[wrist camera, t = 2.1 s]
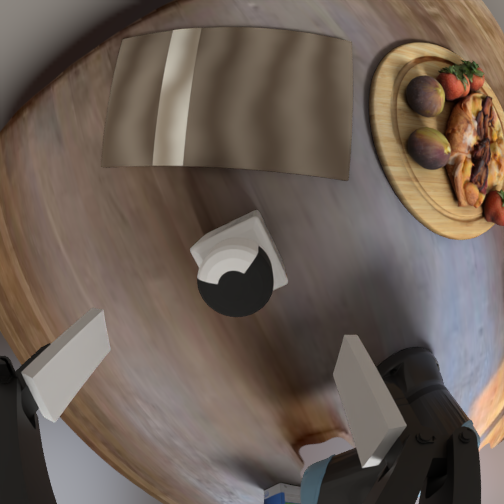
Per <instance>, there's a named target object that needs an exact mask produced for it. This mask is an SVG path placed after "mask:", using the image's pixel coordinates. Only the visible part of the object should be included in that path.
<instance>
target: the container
mask: <svg viewBox="0 0 504 504" xmlns="http://www.w3.org/2000/svg"><path fill="white" fill-rule="evenodd" d="M190 252H191V254H192V256H193V258H194V259H195V261H196V263H197V265H198V267H199V271H198V276H197V284H198V289H199V292H200V294H201V296H202V298H203V300H204V301H205V302H206V303H207V305H208V306H210V307H211V308H212V309H213V310H215V311H216V312H218V313H220V314H223V315H226V316H230V317H243V316H248V315H251V314H253V313H255V312H257V311H258V310H260V309H261V308H262V307H263V306H264V305H265V304H266V303H267V302H268V300H269V299H270V297H271V295H272V291H273V290H275V289H278V288H280V287H282V286H285V285H286V284H287V283H288V278H287V274H286V271H285V267H284V264H283V260H282V258H281V256H280V254H279V252H278V250H277V248H276V245H275V243H274V241H273V239H272V237H271V235H270V233H269V231H268V229H267V226H266V224H265V222H264V220H263V218H262V216H261V214H260V212H259V211H258V210H254V211H252V212H250V213H248V214H246V215H244V216H242V217H239V218H237V219H235V220H233V221H231V222H229V223H227V224H225V225H223V226H221V227H219V228H217V229H215V230H213V231H211V232H209V233H207V234H205V235H204V236H203V237H202V238H201V239H200V240H199V241H197V242H196V243H195V244H194V245H193V246H192V247H191V249H190Z"/></svg>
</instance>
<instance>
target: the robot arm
mask: <svg viewBox="0 0 504 504" xmlns="http://www.w3.org/2000/svg"><path fill="white" fill-rule="evenodd" d="M110 350H111V349H110V344H109V339H108V334H107V328H106V323H105V317H104V311H103V310H102V309H97V308H92V309H90V310H89V311H88V312H87V313H86V314H85V315H83V316H82V317H81V318H80V319H79V320H78V321H76V322H75V323H74V324H73V325H72V326H71V327H70V328H68V329H67V330H66V331H65V332H64V333H63V334H62V335H61V336H59V337H58V338H57V339H56V340H55V341H54V342H53V343H52V344H50V343H49V344H47V345H45V346H43V347H41V348H40V349H39V350H38V351H37V352H36V354H34V355H32V356H31V358H29V359H28V360H27V361H26V362H25V363H24V364H23V365H22V366H21V367H20V368H19V369H18V370H16V371H15V370H14V368H13V365H12V363H11V360H10V359H9V358H8V357H6V356H0V504H57V503H56V500H55V496H54V493H53V490H52V487H51V483H50V479H49V475H48V471H47V467H46V463H45V459H44V453H43V448H42V442H41V436H40V429H39V423H38V416H37V414H36V411H37V410H38V409H40V411H41V413H42V415H43V417H45V418H47V419H49V420H51V421H53V422H54V423H55V422H56V420H57V419H58V418H59V417H60V415H61V414H62V412H63V411H64V410H65V408H66V407H67V406H68V404H69V403H70V402H71V400H72V399H73V398H74V396H75V395H76V394H77V392H78V391H79V390H80V388H81V387H82V386H83V384H84V383H85V382H86V380H87V379H88V378H89V377H90V375H91V374H92V373H93V371H94V370H95V369H96V368H97V366H98V365H99V364H100V363H101V361H102V360H103V359H104V358H105V356H106V355H107V354H108V353H109V351H110ZM333 377H334V380H335V383H336V386H337V389H338V392H339V395H340V398H341V401H342V404H343V407H344V410H345V414H346V417H347V420H348V423H349V426H350V429H351V433H352V436H353V439H354V442H355V446H356V448H354V449H351V450H348V451H346V452H343V453H341V454H338V455H335V454H334V455H332V456H330V457H329V458H327V459H324V460H322V461H319V462H316V463H314V464H312V465H311V466H309V467H308V468H307V469H306V471H305V472H304V475H303V478H302V481H301V489H300V500H301V504H415V502H416V500H417V498H418V497H420V499H419V504H481V475H480V460H479V450H478V448H479V445H480V437H479V435H478V433H477V431H476V430H475V428H474V426H473V422H472V421H471V420H470V419H469V418H468V417H467V415H466V414H465V413H464V411H463V410H462V408H461V407H460V406H459V404H458V403H457V402H456V400H455V399H454V398H453V396H452V395H451V394H450V392H449V391H448V390H447V388H446V387H445V386H444V383H443V379H442V376H441V373H440V371H439V364H438V362H437V360H436V358H435V357H434V356H433V355H432V354H431V352H430V351H428V350H427V349H425V348H420V347H414V348H409V349H405V350H403V351H400V352H398V353H396V354H394V355H392V356H391V357H389V358H388V359H386V360H385V361H384V362H383V363H381V364H380V365H379V366H378V367H377V368H376V367H375V365H374V363H373V361H372V360H371V358H370V356H369V354H368V352H367V351H366V349H365V347H364V346H363V344H362V342H361V340H360V339H359V337H358V335H344V337H343V341H342V345H341V348H340V352H339V355H338V359H337V362H336V366H335V369H334V372H333Z"/></svg>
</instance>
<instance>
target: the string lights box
mask: <svg viewBox="0 0 504 504" xmlns="http://www.w3.org/2000/svg"><path fill="white" fill-rule="evenodd" d="M300 489H301V487H299V486H293V485H288V484H284V483H279V484H277V485H275V486H273V487H271V488H269V489H267V490H264V504H301V500H300Z"/></svg>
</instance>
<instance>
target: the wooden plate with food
mask: <svg viewBox="0 0 504 504" xmlns="http://www.w3.org/2000/svg"><path fill="white" fill-rule="evenodd" d="M369 119H370V125H371V131H372V136H373V141H374V145H375V148H376V152H377V155H378V157H379V160H380V163H381V165H382V168H383V170H384V173H385V175H386V177H387V179H388V181H389V183H390V185H391V186H392V188H393V190H394V192H395V193H396V195H397V197H398V198H399V200H400V201H401V203H402V204H403V205H404V206H405V208H406V209H407V210H408V211H409V212H410V213H411V214H412V215H413V217H414V218H416V219H417V220H418V221H419V222H420V223H421V224H423V225H424V226H425V227H426V228H428V229H429V230H431V231H432V232H434V233H436V234H438V235H440V236H443V237H446V238H449V239H455V240H465V239H471V238H475V237H477V236H479V235H481V234H483V233H484V232H486V231H487V230H489V229H490V228H491V227H492V226H493V225H494V224H497V225H501V226H504V112H503V110H502V107H501V105H500V103H499V101H498V99H497V97H496V96H495V94H494V92H493V91H492V89H491V88H490V86H489V85H488V84H487V82H486V81H485V80H484V73H483V71H482V69H481V68H479V66H478V64H476V63H475V62H474V61H473V62H472V63H471V62H469V61H465V60H464V59H462V58H461V57H460V56H458V55H457V54H455V53H453V52H452V51H450V50H448V49H446V48H443V47H441V46H438V45H434V44H430V43H422V42H413V43H407V44H403V45H401V46H398V47H396V48H394V49H393V50H391V51H390V52H389V53H388V54H386V55H385V57H384V58H383V59H382V60H381V62H380V63H379V65H378V67H377V68H376V70H375V72H374V75H373V78H372V82H371V86H370V93H369Z"/></svg>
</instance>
